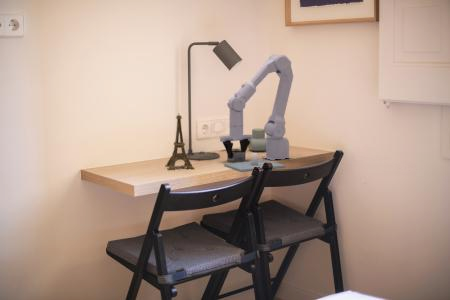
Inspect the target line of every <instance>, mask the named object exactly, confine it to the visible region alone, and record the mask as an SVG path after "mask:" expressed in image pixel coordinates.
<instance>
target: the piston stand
mask: <svg viewBox="0 0 450 300" xmlns="http://www.w3.org/2000/svg"><path fill="white" fill-rule="evenodd" d="M265 162H270V163H272V165H273V169H281V168H285V167H286V164H282V163H278V162H275V161H273V160H268V159H264V160H259V153H258V152H251V153H250V161H245V162H230V163H224V167H226V168H229V169H231V168H232V169H231V170H236V171H237V172H241V173H243V172H254V171H253V169H254V167H260V168H262V166H263V164H264V163H265Z"/></svg>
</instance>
